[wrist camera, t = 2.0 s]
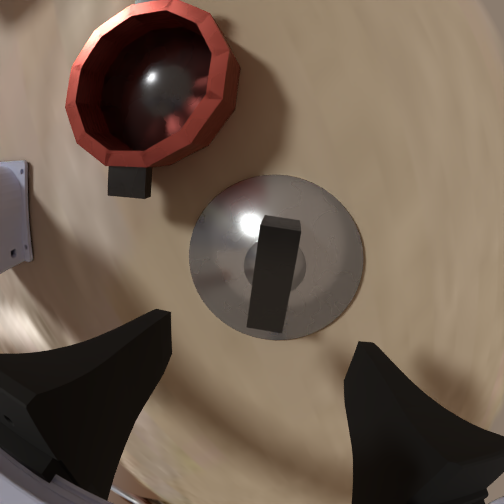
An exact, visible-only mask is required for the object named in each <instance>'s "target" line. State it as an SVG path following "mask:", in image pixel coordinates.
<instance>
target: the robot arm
mask: <svg viewBox="0 0 504 504" xmlns="http://www.w3.org/2000/svg"><path fill="white" fill-rule="evenodd" d="M23 171H24V172H23ZM32 260H33V254H32V246H31V237H30V225H29V210H28V163H27V161H26V160H20V161H6V162H0V274H1V273H3V272H5V271H6V270H8V269H10V268H12V267H14V266H16V265H18V264H20V263H22V262H24V261H27V262H30V261H32ZM171 355H172V341H171V312H168V311H164V310H159V309H155V310H152V311H150V312H148V313H146V314H144V315H142V316H140V317H138V318H136V319H134V320H132V321H130V322H128V323H126V324H124V325H122V326H120V327H118V328H116V329H114V330H111V331H109V332H107V333H104V334H102V335H100V336H98V337H95V338H92V339H90V340H87V341H84V342H81V343H77V344H74V345H71V346H67V347H62V348H58V349H53V350H48V351H41V352H34V353H21V354H0V504H113V503H111V502H109V501H107V500H108V496H109V492H110V489H111V485H112V482H113V479H114V475H115V472H116V469H117V466H118V464H119V461H120V458H121V455H122V453H123V450H124V447H125V445H126V442H127V440H128V437H129V435H130V433H131V430H132V428H133V426H134V424H135V421H136V419H137V418H138V416H139V414H140V412H141V410H142V409H143V407H144V405H145V404H146V402H147V400H148V399H149V397H150V396H151V394H152V392H153V391H154V389H155V387H156V386H157V384H158V382H159V381H160V379H161V377H162V375H163V374H164V372H165V369H166V367H167V365H168V362H169V360H170V357H171ZM344 400H345V408H346V414H347V420H348V426H349V432H350V438H351V445H352V453H353V493H352V504H485V502H484V499H485V498H486V497H487V496H488V491H487V487H488V486H489V485H490V484H491V483H493V482H494V481H495V480H496V479H497V478H498V477H499V476H500V475H501V474H502V473H503V472H504V436H501V435H499V434H496V433H493V432H490V431H487V430H484V429H482V428H480V427H478V426H475V425H473V424H471V423H469V422H467V421H465V420H463V419H462V418H460V417H458V416H456V415H455V414H453V413H452V412H450V411H448V410H447V409H445V408H444V407H442V406H441V405H439V404H438V403H437V402H435V401H434V400H433V399H432V398H430V397H429V396H428V395H426V394H425V393H424V392H423V391H422V390H421V389H419V388H418V387H417V386H416V385H415V384H414V383H413V382H412V381H411V380H410V379H409V378H408V377H407V376H406V375H405V374H404V373H403V372H402V371H401V370H400V369H399V368H398V367H397V366H396V365H395V364H394V363H393V362H392V361H391V360H390V359H389V358H388V357H387V356H386V355H385V354H384V353H383V352H382V350H381V349H380V348H379V347H378V346H377V345H375V344H374V343H372V342H361V341H359V342H358V345H357V347H356V350H355V353H354V356H353V358H352V361H351V364H350V366H349V369H348V372H347V374H346V377H345V379H344ZM489 504H504V496H503V497H500V498H498V499H496V500H494V501H492V502H490V503H489Z"/></svg>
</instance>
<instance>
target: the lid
mask: <svg viewBox="0 0 504 504" xmlns="http://www.w3.org/2000/svg"><path fill="white" fill-rule="evenodd" d="M189 264H190V270H191V275H192V278H193V282H194V284H195V287H196V289H197V291H198V293H199V295H200V297H201V298H202V300H203V302H204V303H205V304H206V306H207V307H208V308H209V309H210V310H211V311H212V312H213V313H214V314H215V315H216V317H218V318H219V319H220V320H221V321H223V322H224V323H225V324H227V325H228V326H230V327H232V328H233V329H235V330H237V331H239V332H241V333H244V334H247V335H250V336H253V337H257V338H261V339H269V340H287V339H295V338H299V337H303V336H306V335H309V334H312V333H314V332H316V331H318V330H320V329H322V328H324V327H325V326H327V325H328V324H330V323H331V322H332V321H334V320H335V319H336V318H337V317H338V316H339V315H340V314H341V313H342V312H343V311H344V310H345V309H346V308H347V306H348V305H349V303H350V302H351V300H352V299H353V297H354V295H355V293H356V291H357V289H358V286H359V283H360V280H361V275H362V270H363V247H362V242H361V238H360V235H359V232H358V229H357V227H356V224H355V223H354V221H353V219H352V217H351V216H350V214H349V213H348V211H347V210H346V209H345V207H344V206H343V205H342V204H341V203H340V202H339V201H338V200H337V199H336V198H335V197H334V196H333V195H331V194H330V193H329V192H327V191H326V190H325V189H323V188H321V187H320V186H318V185H316V184H314V183H312V182H309V181H307V180H304V179H301V178H297V177H293V176H288V175H263V176H257V177H252V178H249V179H246V180H243V181H240V182H238V183H236V184H234V185H232V186H230V187H229V188H227V189H226V190H224V191H223V192H221V193H220V194H219V195H218V196H216V197H215V198H214V199H213V200H212V201H211V202H210V203H209V204H208V206H207V207H206V208H205V209H204V211H203V212H202V214H201V216H200V217H199V219H198V221H197V223H196V225H195V228H194V230H193V233H192V237H191V241H190V249H189Z"/></svg>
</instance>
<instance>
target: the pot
mask: <svg viewBox="0 0 504 504" xmlns="http://www.w3.org/2000/svg"><path fill="white" fill-rule="evenodd" d="M239 75H240V66H239V64H238V62H237V60H236V58H235V56H234V54H233V52H232V50H231V48H230V47H229V45H228V43H227V41H226V39H225V37H224V35H223V33H222V32H221V30H220V28H219V27H218V25H217V23H216V22H215V20H214V19H213V17H212V16H211V14H210V13H208V12H206V11H204V10H201V9H199V8H197V7H194V6H192V5H189V4H187V3H184V2H182V1H179V0H136V1H135V4H134V5H131V6H129V7H127V8H126V9H124V10H123V11H121V12H120V13H118V14H117V15H115V16H114V17H113V18H111V19H110V20H108V21H107V22H106V23H104V24H103V25H101V26H100V27H99V28H97V29H96V30H95V31H94V33H93V34H92V35H91V37H90V38H89V40H88V41H87V43H86V45H85V46H84V48H83V49H82V51H81V52H80V54H79V56H78V57H77V59H76V61H75V62H74V64H73V66H72V68H71V73H70V79H69V85H68V91H67V98H66V105H65V108H66V111H67V115H68V118H69V121H70V124H71V127H72V130H73V133H74V136H75V139H76V142H77V144H79V145H80V146H81V147H82V148H84V149H85V150H86V151H87V152H89V153H90V154H91V155H92V156H94V157H95V158H96V159H97V160H99V161H100V162H101V163H102V164H104V165H105V166H109V172H108V196H119V197H130V198H141V199H146V198H149V197H151V180H152V167H157V166H166V165H171V164H173V163H175V162H177V161H179V160H181V159H183V158H185V157H187V156H189V155H191V154H193V153H195V152H197V151H199V150H201V149H203V148H205V147H207V146H209V144H210V143H211V141H212V140H213V139H214V137H215V136H216V134H217V133H218V132H219V130H220V129H221V128H222V126H223V125H224V124H225V122H226V121H227V119H228V118H229V117H230V115H231V114H232V113H233V112H234V110H235V106H236V98H237V91H238V83H239Z"/></svg>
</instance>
